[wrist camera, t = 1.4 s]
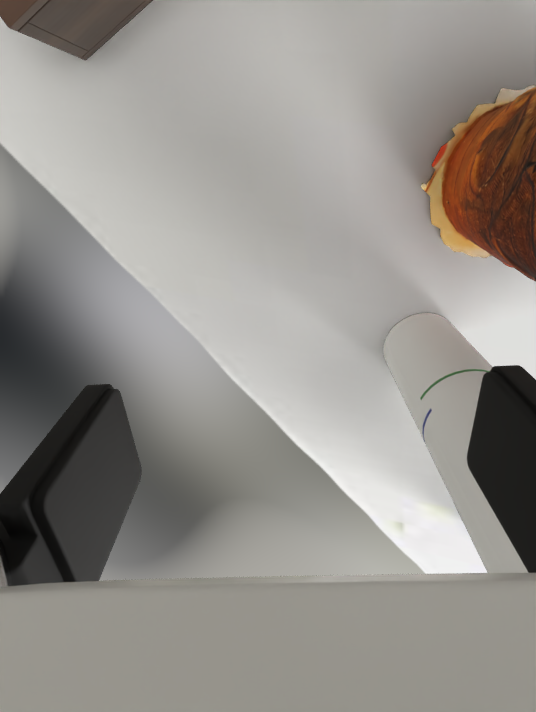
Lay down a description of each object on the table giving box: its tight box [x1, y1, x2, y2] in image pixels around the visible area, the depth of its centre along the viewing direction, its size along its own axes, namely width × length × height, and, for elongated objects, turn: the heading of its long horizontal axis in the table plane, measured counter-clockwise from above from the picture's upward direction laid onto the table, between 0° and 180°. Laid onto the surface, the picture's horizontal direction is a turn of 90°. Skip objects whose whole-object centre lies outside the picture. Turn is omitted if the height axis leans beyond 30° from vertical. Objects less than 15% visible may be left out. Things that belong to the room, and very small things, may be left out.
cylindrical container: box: [383, 313, 528, 573], centre depth 29 cm, size 7×7×25 cm
